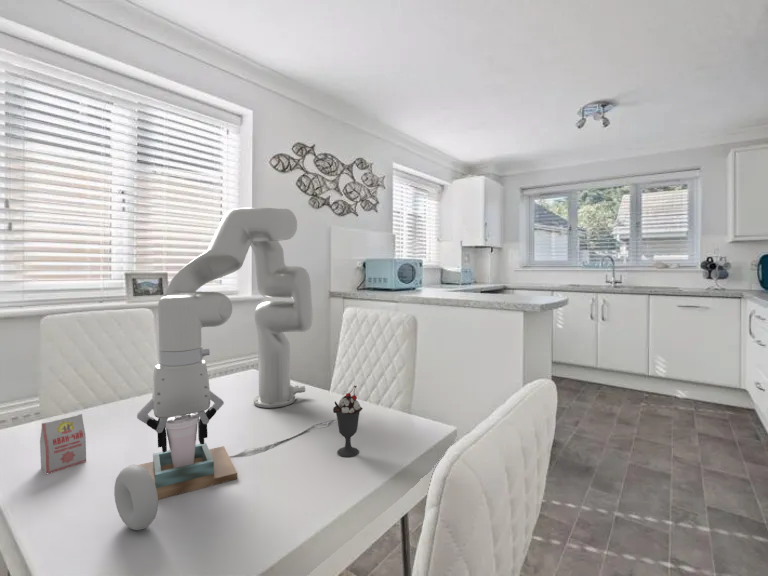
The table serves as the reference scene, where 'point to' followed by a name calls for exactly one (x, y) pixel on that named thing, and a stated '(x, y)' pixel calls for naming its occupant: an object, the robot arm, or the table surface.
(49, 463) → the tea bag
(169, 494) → the holder board
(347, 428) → the sundae
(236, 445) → the table surface
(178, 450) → the smoothie
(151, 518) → the donut
